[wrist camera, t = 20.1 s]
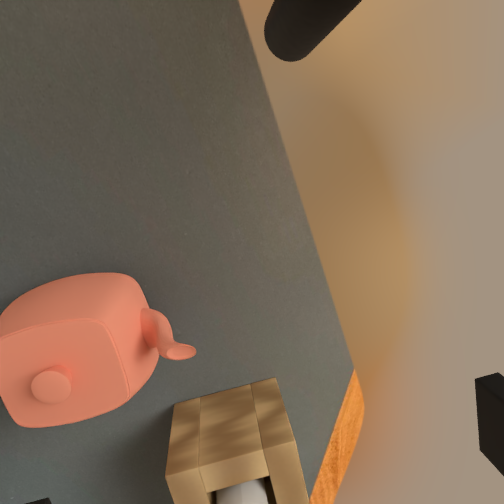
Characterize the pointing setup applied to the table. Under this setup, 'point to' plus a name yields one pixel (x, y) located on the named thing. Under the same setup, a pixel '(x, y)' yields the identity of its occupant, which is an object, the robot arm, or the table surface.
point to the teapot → (80, 348)
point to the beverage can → (243, 493)
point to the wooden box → (234, 446)
